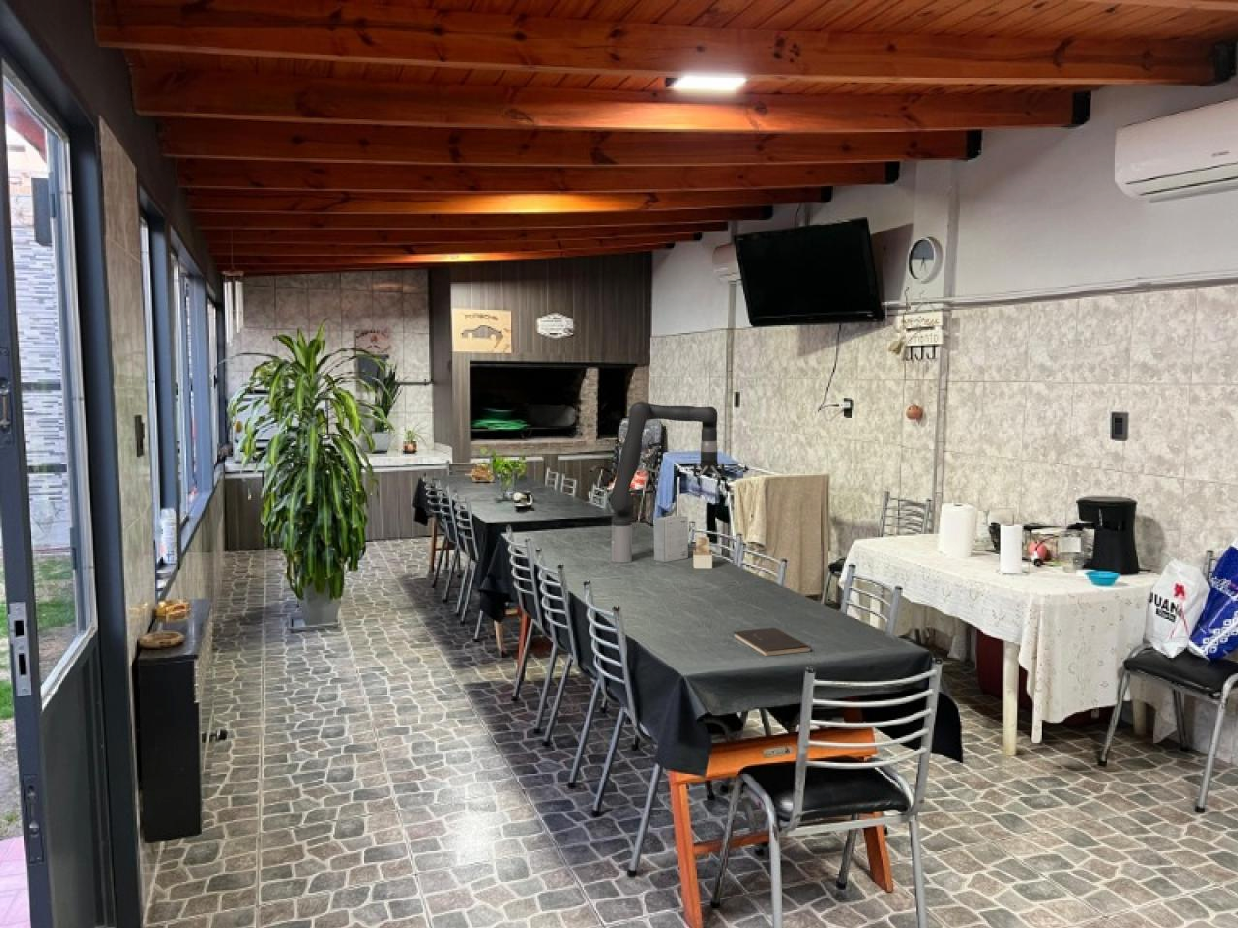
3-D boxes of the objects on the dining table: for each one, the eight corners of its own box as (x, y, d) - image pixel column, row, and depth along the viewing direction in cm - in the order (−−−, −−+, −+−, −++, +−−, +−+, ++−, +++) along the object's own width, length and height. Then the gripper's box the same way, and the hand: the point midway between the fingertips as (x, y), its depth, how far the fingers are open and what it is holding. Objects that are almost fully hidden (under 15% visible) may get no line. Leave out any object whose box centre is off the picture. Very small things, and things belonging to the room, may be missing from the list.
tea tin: (693, 568, 417) (693, 553, 416) (692, 564, 425) (692, 549, 424) (712, 568, 416) (712, 553, 416) (711, 564, 425) (711, 549, 424)
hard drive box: (677, 556, 445) (677, 514, 443) (688, 558, 439) (688, 516, 437) (653, 560, 435) (653, 518, 433) (664, 562, 429) (664, 520, 427)
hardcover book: (765, 658, 286) (765, 650, 286) (733, 638, 308) (733, 631, 308) (811, 652, 291) (811, 645, 291) (776, 633, 313) (776, 627, 313)
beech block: (696, 552, 418) (696, 539, 417) (696, 550, 423) (696, 537, 422) (709, 552, 417) (709, 539, 417) (708, 550, 423) (708, 537, 422)
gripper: (693, 451, 417) (693, 487, 419) (725, 451, 417) (725, 487, 418) (693, 449, 425) (692, 485, 426) (724, 449, 424) (723, 485, 426)
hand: (708, 486), depth 422 cm, fingers open, 8 cm apart
